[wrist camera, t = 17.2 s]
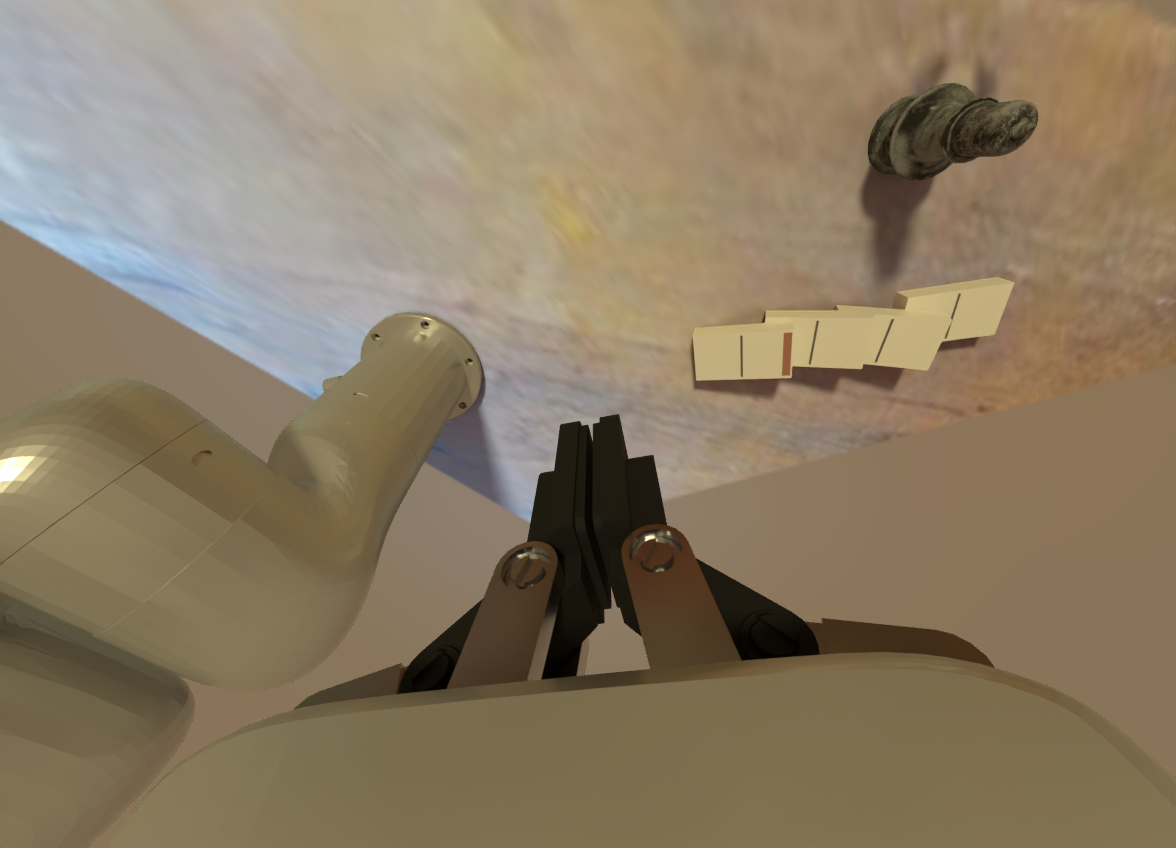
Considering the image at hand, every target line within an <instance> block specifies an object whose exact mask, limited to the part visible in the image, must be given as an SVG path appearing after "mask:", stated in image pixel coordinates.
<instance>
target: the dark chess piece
mask: <svg viewBox="0 0 1176 848" xmlns="http://www.w3.org/2000/svg"><path fill="white" fill-rule="evenodd" d="M1037 121H1038V111H1037V109H1036V106H1035V105H1034V104H1033V103H1031V102H1028V101H1024V100H1015V101H1008V102H1000V103H999V102H998V101H997V100H996V99H993V98H979V99H975V97H974V94H973V93H972V92H971V91H970V90H969V89H968V88H967V87H966V86H963V85H960V84H957V83H945V84H942V85H939V86H936V87H933V88H931V89H929V90H927V91H926V92H924V93H922V94H921V95H911V96H908V97H904V98H902V99H900V100H898V101H897V102H895V103H894V104H892V105H891V106H890V107H889V108H888V109H887V110H886V111H885V112H884V113H883V114H882V115H881V117H880V118H879V119H878V121H877V122H876V124H875V126H874V128H873V130H872V132H871V136H870V139H869V145H868V154H869V159H870V161H871V163H872V165H873V167H874V168H876V169H877V170H878V171H879V172H882V173H885V174H899V175H900V176H901V177H903V178H906V179H909V180H923V179H927V178H930V177H933V176H935V175H937V174H939V173H940V172H942V171H944V170H945V169H946V168H948V167H949V166H950V165H951V164H953V163H965V162H969V161H972V160H974V159H976V158H977V157H993V156H1001V155H1005V154H1008V153H1011V152H1013V151H1014V150H1016V149H1018V148H1019V147H1020V146H1021V145H1023V144H1024V143H1025V142H1026V141H1027V139H1028V138H1029V137H1030V136H1031V135H1032V133H1033V132H1034V130H1035V128H1036V125H1037Z"/></svg>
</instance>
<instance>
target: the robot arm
mask: <svg viewBox="0 0 1176 848" xmlns="http://www.w3.org/2000/svg"><path fill="white" fill-rule="evenodd" d="M426 322H428V323H429V324H427V323H426ZM378 335H379V336H378ZM469 358H470V359H472V361H471V360H470V359H469ZM481 385H482V369H481V364H480V361H479V358H478V356H477V354H476V352H475V350H474V348H473V347H472V345H471V344H470V342H469V341H468V340H467V339H466V338H465V336H464V335H463V334H461V333H460V332H459V331H458V330H457V329H456V328H454V327H453V326H451V325H450V324H448V323H446V322H445V321H443V320H441V319H438V318H436V317H434V316H431V315H426V314H422V313H410V312H407V313H400V314H395V315H392V316H390V317H387V318H385V319H384V320H382V321H381V322H379V323H378V324H377V325H375V326H374V327H373V328H372V329H371V330H370V331H369V333H368V334H367V336H366V337H365V339H364V342H363V345H362V349H361V361H360V362H358V363H357V364H356V365H355V366H354V367H353V368H352V369H350V370H349V371H348V372H347V373H346V374H345V375H343V376H338V377H333V378H329V379H326V380H324V381H323V390H324V393H323V394H321V395H320V396H319V397H318V398H317V399H316V400H315V401H313V402H312V403H311V404H310V405H309V406H308V407H306V408H305V409H304V410H303V411H302V412H301V413H299V414H298V415H297V416H296V417H295V418H294V419H293V420H291V421H290V423H288V425H287V426H286V427H285V428H284V429H283V430H282V432H281V433H280V435H279V436H278V438H277V440H276V441H275V444H274V446H273V448H272V451H271V453H270V456H269V460H268V464H267V463H266V462H264V461H263V460H262V459H260V458H259V457H258V456H256V455H255V454H254V453H252V452H251V451H250V450H249V449H247V448H246V447H244V446H243V445H242V444H241V443H239V442H238V441H236V440H235V439H234V438H233V437H231V436H230V435H229V434H227V433H226V432H224V431H223V430H222V429H221V428H219V427H218V426H217V425H215V424H214V423H213V422H211V421H210V420H208V419H207V418H206V417H204V416H203V415H202V414H200V413H199V412H198V411H196V410H195V409H193V408H192V407H191V406H189V405H188V404H186V403H185V402H183V401H182V400H180V399H179V398H177V397H176V396H174V395H172V394H171V393H169V392H167V391H165V390H163V389H161V388H159V387H157V386H154V385H152V384H149V383H146V382H143V381H139V380H134V379H128V378H105V379H97V380H91V381H87V382H83V383H79V384H76V385H73V386H70V387H67V388H65V389H61V390H59V391H57V392H54V393H52V394H50V395H48V396H45V397H44V398H41V399H39V400H37V401H34V402H32V403H30V404H28V405H26V406H24V407H22V408H21V409H19V410H17V411H15V412H13V413H12V414H10V415H8V416H6V417H4V418H3V419H1V420H0V848H88V847H89V846H90V845H91V844H92V843H93V842H94V841H95V840H96V839H97V838H98V837H99V836H100V835H101V834H102V833H103V832H104V831H106V829H108V828H109V827H110V826H111V824H113V823H114V821H116V819H118V818H119V816H120V815H121V814H122V813H123V812H124V811H125V810H126V809H127V808H128V807H129V806H130V805H131V804H132V803H133V802H134V801H135V800H136V799H137V798H138V797H139V796H140V795H141V794H142V792H143V791H144V790H145V789H146V788H147V787H148V786H149V785H150V784H151V783H152V782H153V780H154V779H155V778H156V777H157V776H158V775H159V774H160V772H161V771H162V770H163V769H164V768H165V767H166V765H167V764H168V763H169V762H170V760H171V759H172V758H173V756H174V755H175V753H176V752H177V750H178V749H179V747H180V746H181V744H182V743H183V741H184V739H185V738H186V735H187V733H188V731H189V729H190V726H191V724H192V721H193V717H194V709H195V701H194V696H193V694H192V692H191V690H190V688H189V686H188V684H187V683H186V682H185V681H184V680H183V679H182V678H181V677H180V676H182V677H184V678H187V679H190V680H193V681H195V682H198V683H201V684H204V685H209V686H213V687H218V688H222V689H226V690H231V691H243V692H244V691H263V690H269V689H273V688H277V687H280V686H283V685H285V684H289V683H291V682H294V681H295V680H297V679H299V678H301V677H303V676H304V675H306V674H308V673H309V672H311V671H312V670H313V669H315V668H316V667H317V666H319V665H320V664H321V663H322V662H323V661H324V660H325V659H327V658H328V656H330V655H331V654H332V653H333V651H334V650H335V649H336V648H337V647H338V646H339V644H340V643H341V642H342V641H343V639H344V638H345V637H346V635H347V634H348V632H349V631H350V629H351V628H352V626H353V624H354V623H355V621H356V619H357V617H358V615H359V613H360V611H361V609H362V607H363V604H364V603H365V600H366V598H367V595H368V592H369V589H370V586H371V583H372V581H373V578H374V574H375V570H376V567H377V563H378V559H379V556H380V552H381V549H382V546H383V543H384V540H385V537H386V534H387V532H388V529H389V527H390V525H391V523H392V521H393V518H394V516H395V514H396V512H397V510H398V508H399V506H400V504H401V502H402V501H403V499H404V497H405V495H406V493H407V491H408V490H409V488H410V486H411V484H412V483H413V481H414V479H415V477H416V476H417V474H418V472H419V470H420V468H421V466H422V465H423V463H424V461H425V460H426V458H427V456H428V454H429V452H430V451H431V449H432V447H433V445H434V444H435V442H436V440H437V438H438V436H439V435H440V433H441V431H442V429H443V428H444V426H445V424H446V422H447V421H448V420H451V419H454V418H457V417H458V416H460V415H462V414H464V413H465V412H466V411H467V410H468V409H470V408H471V406H472V405H473V403H474V402H475V401H476V399H477V397H478V395H479V392H480V389H481ZM463 402H464V403H463ZM611 588H612V591H613V595H614V598H615V602H616V605H617V607H618V608H619V607H620V609H621V613H622V616H623V620H624V623H625V624H626V625H628V626H629V627H630V628H631V629H633V630H634V631H635V632H636V633H638V634H639V635H640V636H641V637H642V639H643V643H644V646H645V650H646V654H647V658H648V662H649V666H650V669H647V670H636V671H625V672H615V673H605V674H594V675H585V668H586V662H587V656H588V649H589V639H588V636H589V635H590V634H591V632H592V631H593V630H594V629H595V628H596V627H597V626H598V624H601V623H604V609H610V608H611ZM104 848H1176V777H1175V776H1174V775H1173V774H1172V773H1170V771H1168V770H1167V769H1166V768H1165V767H1164V766H1163V765H1162V764H1161V763H1160V762H1158V761H1157V760H1156V759H1155V758H1154V757H1153V756H1152V755H1151V754H1150V753H1149V752H1147V751H1146V750H1145V749H1144V748H1143V747H1142V746H1140V745H1139V744H1138V743H1137V742H1136V741H1134V740H1133V739H1132V738H1131V737H1130V736H1128V735H1127V734H1126V733H1125V732H1123V731H1122V730H1121V729H1120V728H1119V727H1117V726H1116V725H1115V724H1113V723H1112V722H1111V721H1109V720H1108V719H1106V718H1105V717H1103V716H1102V715H1100V714H1099V713H1098V712H1096V711H1094V710H1093V709H1092V708H1090V707H1089V706H1087V705H1085V704H1084V703H1082V702H1080V701H1078V700H1077V699H1075V698H1073V697H1071V696H1069V695H1067V694H1065V693H1062V692H1061V691H1058V690H1056V689H1054V688H1052V687H1049V686H1046V685H1044V684H1042V683H1039V682H1036V681H1033V680H1031V679H1028V678H1025V677H1022V676H1019V675H1017V674H1014V673H1010V672H1007V671H1003V670H1000V669H996V668H995V667H994V666H993V664H992V663H991V662H990V660H989V659H988V657H987V656H986V655H985V654H984V653H982V652H981V651H980V650H979V649H977V648H976V647H975V646H973V645H972V644H971V643H970V642H968V641H966V640H964V639H962V638H960V637H958V636H956V635H954V634H951V633H947V632H943V631H939V630H932V629H923V628H914V627H904V626H894V625H885V624H874V623H865V622H856V621H846V620H836V619H825V618H822V620H821V623H815V622H805V621H803V620H802V619H801V618H799V617H798V616H797V615H795V614H793V613H792V612H791V611H789V610H787V609H786V608H784V607H782V606H780V605H778V604H777V603H775V602H773V601H771V600H770V599H767V598H766V597H764V596H762V595H761V594H759V593H757V592H755V591H753V590H752V589H750V588H748V587H746V586H745V585H743V584H741V583H739V582H737V581H736V580H734V579H732V578H730V577H728V576H726V575H725V574H723V573H721V572H720V571H718V570H716V569H714V568H712V567H711V566H709V565H707V564H705V563H704V562H702V561H700V560H698V559H696V558H695V556H694V553H693V551H692V549H691V547H690V544H689V542H688V540H687V539H686V537H685V536H684V535H683V534H682V533H681V532H680V531H678V530H677V529H676V528H673V527H670V526H668V525H667V523H666V518H665V513H664V508H663V502H662V497H661V492H660V487H659V482H658V477H657V472H656V467H655V461H654V456H653V455H649V456H643V457H637V458H631V459H628V455H627V450H626V446H625V441H624V436H623V431H622V426H621V421H620V417H619V414H617V415H611V416H605V417H600V423H595V424H593V441H592V437H591V434H590V430H589V426H588V425H583V426H582V425H581V423H580V421H577V422H571V423H566V424H561V425H560V430H559V438H558V446H557V454H556V461H555V469H554V471H551V472H544V473H541V474H540V475H539V478H538V483H537V489H536V495H535V500H534V506H533V512H532V517H531V523H530V529H529V534H528V540H527V542H525V543H523V544H520V545H517V546H515V547H514V548H512V549H511V550H509V551H508V552H507V553H506V554H505V555H504V556H503V557H502V558H501V559H500V561H499V563H498V564H497V566H496V568H495V571H494V573H493V576H492V578H491V581H490V583H489V585H488V588H487V590H486V593H485V595H484V598H483V599H482V600H481V601H480V602H479V603H477V604H476V605H475V606H474V607H473V608H472V609H470V610H469V611H468V612H467V613H466V614H465V615H463V616H462V617H461V618H460V619H459V620H458V621H456V622H455V623H454V624H453V625H452V626H451V627H449V628H448V629H447V630H446V631H445V632H444V633H442V634H441V635H440V636H439V637H438V638H437V639H436V640H434V641H433V642H432V643H431V644H430V645H429V646H427V647H426V648H425V649H424V650H423V651H422V652H421V653H420V654H418V656H417V657H416V658H415V659H414V660H413V661H412V662H411V663H410V665H409V666H406V667H404V666H403V665H402V663H400V664H397V665H394V666H391V667H388V668H385V669H382V670H380V671H377V672H374V673H371V674H368V675H365V676H362V677H359V678H357V679H353V680H351V681H348V682H345V683H342V684H339V685H336V686H333V687H331V688H327V689H325V690H322V691H319V692H317V693H315V694H313V695H311V696H309V697H307V698H306V699H305V700H304V701H302V702H301V703H300V704H299V705H298V706H296V707H295V708H294V710H291V711H288V712H284V713H280V714H277V715H274V716H272V717H269V718H266V719H263V720H260V721H257V722H255V723H252V724H249V725H247V726H244V727H242V728H241V729H238V730H236V731H234V732H232V733H230V734H228V735H226V736H224V737H222V738H220V739H218V740H216V741H214V742H212V743H210V744H209V745H207V746H205V747H204V748H202V749H200V750H199V751H197V752H195V753H194V754H193V755H191V756H190V757H188V758H187V759H185V760H184V761H182V762H181V763H180V764H178V765H177V766H176V767H175V768H174V769H172V770H171V771H170V772H169V773H167V774H166V775H165V776H164V777H163V778H162V779H161V780H160V781H159V782H158V783H157V784H156V785H155V786H154V787H153V788H152V789H151V790H150V791H149V793H148V794H147V795H146V796H145V797H144V798H143V800H142V801H141V802H140V803H139V804H138V806H136V807H135V809H134V810H133V811H132V812H131V814H130V815H129V816H128V817H127V819H126V820H125V821H124V822H123V823H122V825H121V826H120V827H119V829H118V830H117V831H116V833H115V834H114V835H113V836H112V838H111V839H110V840H109V842H108V843H107V844H106V845H105V847H104Z"/></svg>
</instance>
